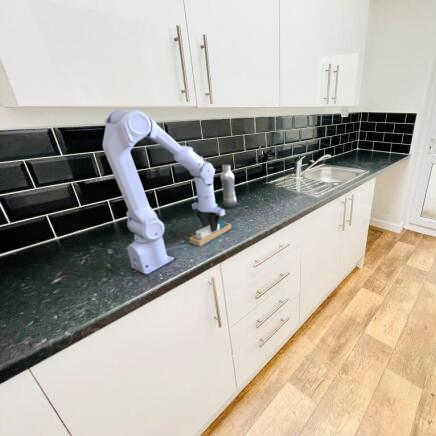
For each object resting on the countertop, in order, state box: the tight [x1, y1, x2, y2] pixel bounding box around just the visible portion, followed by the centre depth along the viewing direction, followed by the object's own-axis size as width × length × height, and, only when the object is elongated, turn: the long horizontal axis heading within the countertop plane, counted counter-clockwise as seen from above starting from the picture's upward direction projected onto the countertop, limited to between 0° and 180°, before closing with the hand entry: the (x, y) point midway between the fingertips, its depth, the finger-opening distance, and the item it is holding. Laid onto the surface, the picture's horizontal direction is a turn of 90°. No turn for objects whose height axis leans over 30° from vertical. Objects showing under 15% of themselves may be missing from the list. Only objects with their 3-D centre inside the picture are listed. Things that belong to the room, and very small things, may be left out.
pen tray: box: [188, 221, 233, 247], centre depth 96 cm, size 16×5×2 cm, turn 150°
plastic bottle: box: [220, 163, 238, 208], centre depth 120 cm, size 6×7×20 cm
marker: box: [195, 219, 226, 240], centre depth 96 cm, size 12×3×3 cm, turn 150°
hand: (211, 229), depth 96 cm, fingers closed on marker, 3 cm apart
